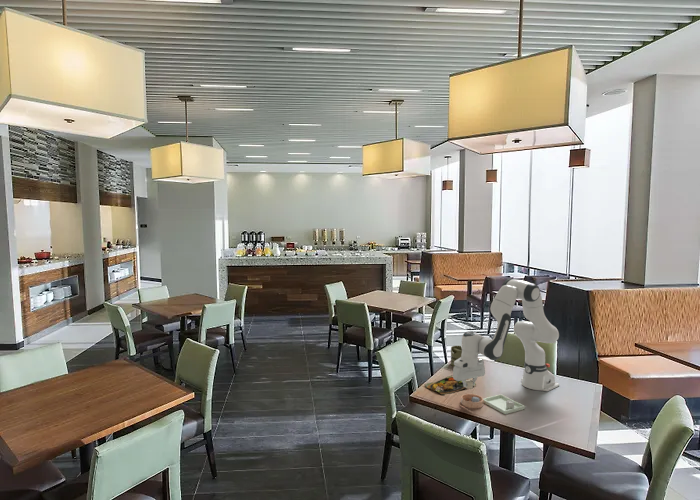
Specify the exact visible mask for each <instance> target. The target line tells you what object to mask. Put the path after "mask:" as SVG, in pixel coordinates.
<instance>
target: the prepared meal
mask: <svg viewBox="0 0 700 500" xmlns="http://www.w3.org/2000/svg"><path fill="white" fill-rule="evenodd" d="M466 380H470V379H466ZM465 382H466V381H465ZM474 386H477V384H476V383H475V385H474ZM424 387H425V388H426V389H428V390H432V391H434V392H438V394H440V395H441V396H443V397H444V396H446V395H450V394H454V393H456V392H460V391H462V390H464V389H466V388H465V387H464V386H463V382H462V380H461V381H456V380H454V378H453V374H451V375H449V376H447V377H444V378H441V379H439V380H437V381H434V382H428V383H425V384H424Z"/></svg>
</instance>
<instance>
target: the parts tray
mask: <svg viewBox="0 0 700 500" xmlns="http://www.w3.org/2000/svg"><path fill="white" fill-rule="evenodd" d="M482 398H483V400H484V403H483V404H485V405H487V406H489V407H491V408H492V409H494V410H497V411H498V412H500V413H502V414H504V415H509V414H511V413H515V412H519V411H522V410H525V409H526V405H524V404H522V403H520V402H518V401H516V400H514V399H512V398H509V397H508V396H506V395H503V394H502V393H500V394H497V395H492V396H488V397H485V398H484V397H482ZM507 400H511V401H513V402H514V408H513V409H509V410H507V409H506V401H507Z"/></svg>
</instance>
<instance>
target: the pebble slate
mask: <svg viewBox="0 0 700 500" xmlns="http://www.w3.org/2000/svg"><path fill="white" fill-rule="evenodd" d="M472 402H479V398H478V397H472Z"/></svg>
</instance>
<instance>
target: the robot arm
mask: <svg viewBox="0 0 700 500" xmlns="http://www.w3.org/2000/svg"><path fill="white" fill-rule="evenodd" d="M541 293H542V292H541V290H540V287H539V286H538V285H537V284H535V283H533V282H529V281H525V280H521V279H515V278H506V279H505V280H504V281H503V282H502V285H501V287H500V288H499V290H498V291H497V292H496V295H495V296H494V298H493V300H492V302H491V304H490V313H491V315H492V316H493V318H494V319H495V320H496V322H497V327H496V330H495V332H494V335H493V338H492V339H491V338H489V337H487V336H484V335H480V334H479V333H477V332H476V331H473V330H469V331H466V332H464V333H463V334H462V337H461V345H460V346H461V348H462V354H461V357H460V358H459V359H457V360H455V361H454V365H455V366H453V369H452V375H453V376H452V377H453V378H454V380H456V381H461V380H462V382H463V386H464V387H467V383H466V382H465V381H466V379H469V380H472V381H473V386H476V385H475V384H476V381H477V379H478V378H479V377H484V376H485V375H486V368H485V361H484V360H483V359H482V358H480V359H479V355H482V356H483V357H485V358H487V359H488V360H491V361H496V360H500V358H501V357H502V356H503V354H504V349H505V343H506V340H507V337H508V335H509V334H508V333H509V331H510V327H511V323H512V317H511V315H512V314H511V313H512V311H513V309H514V307H515V303H516V301H517V300H521V304H522V312H523V316H524V318H526V320H519V321H516V323H515V324H514V326H513V333H514V334H515V336H516V337H517V338H518V339H519V341H521V343H522V346H523V349H524V363H523V364H524V365H523V368H524V369H523V374H522V378H521V386H523V387H525V388H526V389H530V390H534V391H542V392H543V391H544V392H549V391H551V390H553V389H555V388H557V387H559V386H560V383H558V382H557V381H556V377H555V375H554V374H553V373H552V372H550V371H549V370H548V368H550V366H551V364H550V363H546V352H545V350H544V348H543V347H541V346H540V345H539V344H538V342H540V343H544V344H555V343H556V342H557V341H558V340H559V337H560V333H559V330H558V329H557V327H556V326H555V325H553V324H552V323H551V322H550V321H549V320H548V318H547V317H546V314H545V311H544V303H543V297H542V295H541ZM527 320H528V321H527Z"/></svg>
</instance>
